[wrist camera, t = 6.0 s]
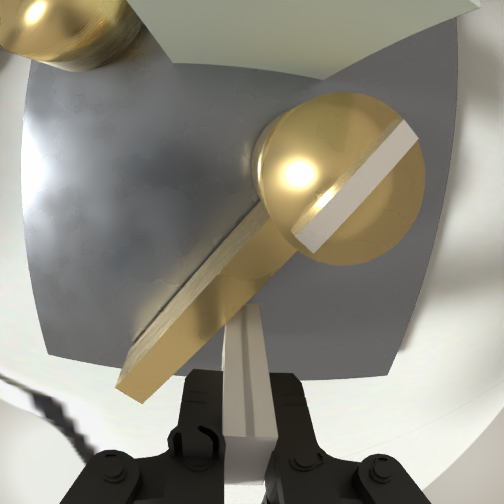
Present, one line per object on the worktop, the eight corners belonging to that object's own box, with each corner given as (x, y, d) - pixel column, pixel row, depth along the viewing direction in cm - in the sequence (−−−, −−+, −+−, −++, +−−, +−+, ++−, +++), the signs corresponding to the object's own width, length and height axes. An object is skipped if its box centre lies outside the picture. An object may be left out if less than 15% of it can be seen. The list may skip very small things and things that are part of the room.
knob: (311, 80, 11) (356, 52, 6) (392, 168, 12) (460, 185, 8) (100, 328, 14) (65, 392, 9) (181, 382, 15) (171, 452, 11)
